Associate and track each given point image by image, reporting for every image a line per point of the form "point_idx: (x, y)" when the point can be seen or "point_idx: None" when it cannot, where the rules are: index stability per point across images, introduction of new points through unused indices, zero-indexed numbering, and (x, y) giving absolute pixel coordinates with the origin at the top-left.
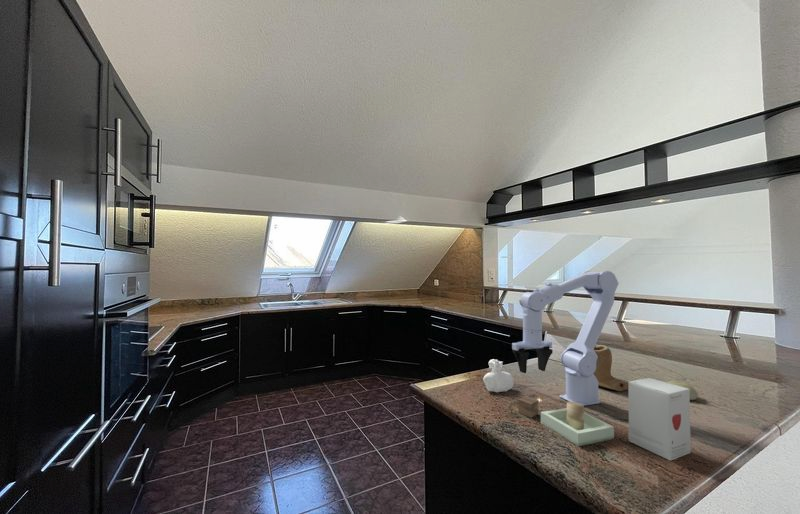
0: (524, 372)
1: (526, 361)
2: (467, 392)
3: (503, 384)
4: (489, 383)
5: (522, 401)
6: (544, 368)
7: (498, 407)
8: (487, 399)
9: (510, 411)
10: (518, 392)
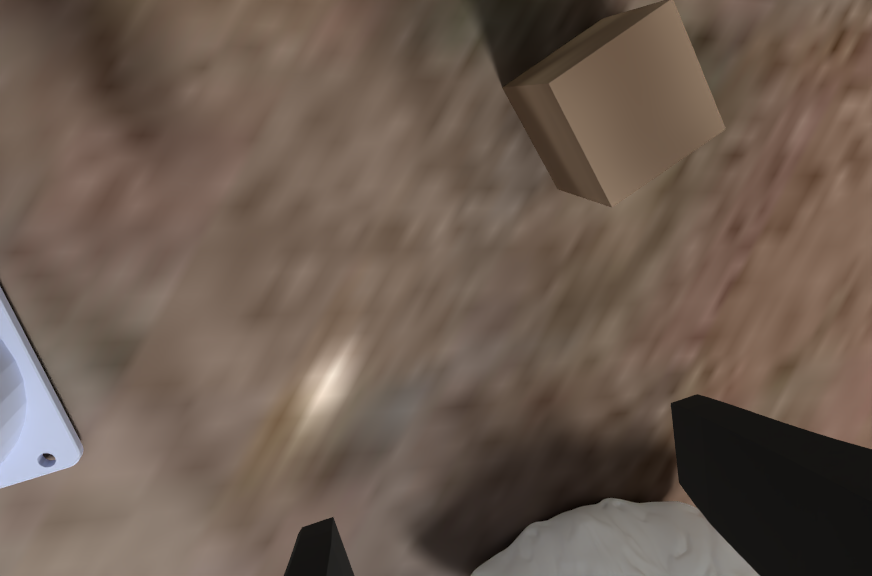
0: (703, 398)
1: (856, 483)
2: None
3: (592, 548)
4: (716, 537)
5: (705, 87)
6: (319, 545)
7: (747, 223)
8: (747, 365)
9: (699, 148)
10: (436, 517)
